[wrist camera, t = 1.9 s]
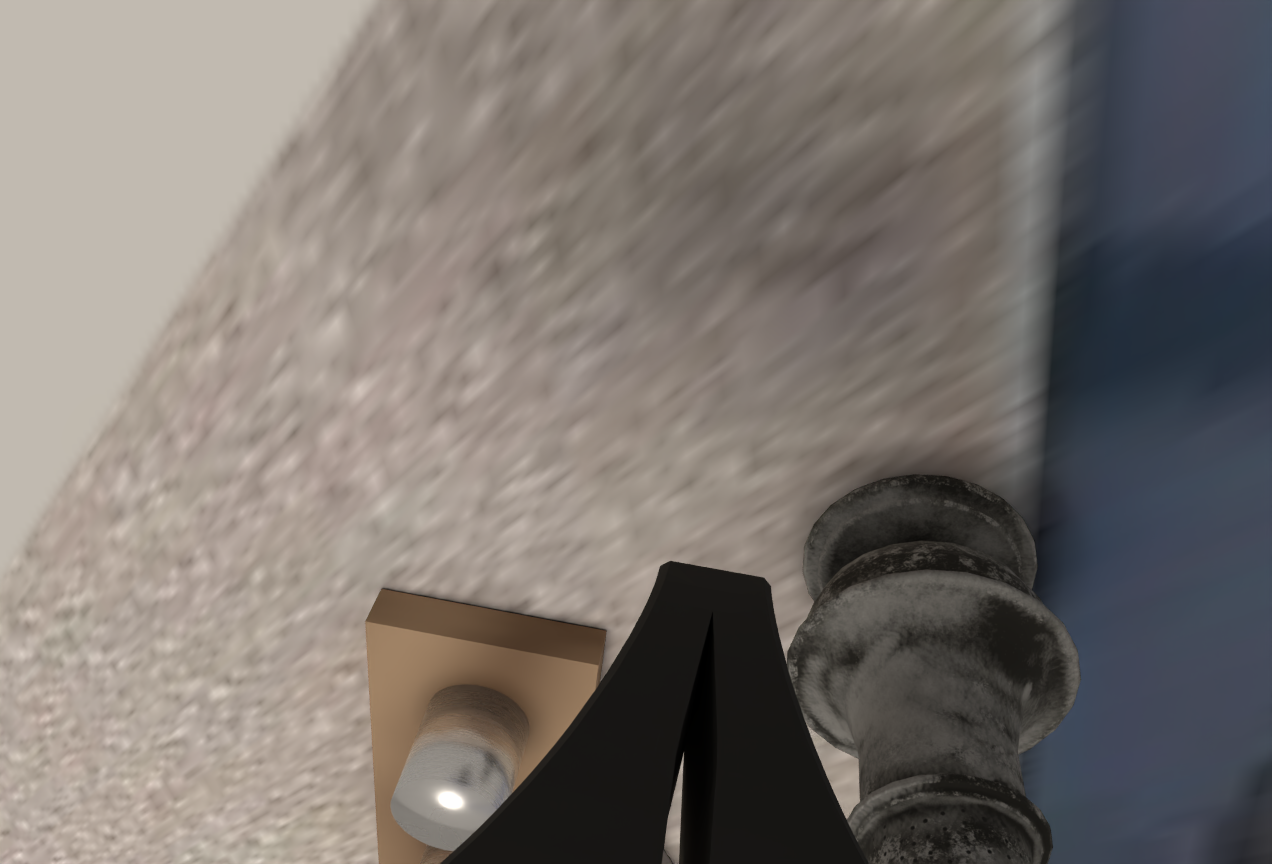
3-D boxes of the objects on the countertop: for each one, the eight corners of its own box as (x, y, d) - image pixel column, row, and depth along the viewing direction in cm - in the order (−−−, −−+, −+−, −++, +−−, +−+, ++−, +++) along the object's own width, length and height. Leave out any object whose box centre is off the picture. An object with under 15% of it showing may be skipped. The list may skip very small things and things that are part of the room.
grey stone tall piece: (770, 631, 27) (739, 1171, 17) (815, 443, 23) (808, 985, 14) (1006, 672, 26) (1112, 1249, 17) (1087, 488, 23) (1281, 1078, 13)
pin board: (606, 630, 27) (575, 763, 24) (571, 888, 34) (544, 1019, 31) (381, 588, 28) (319, 714, 24) (392, 852, 35) (345, 978, 31)
